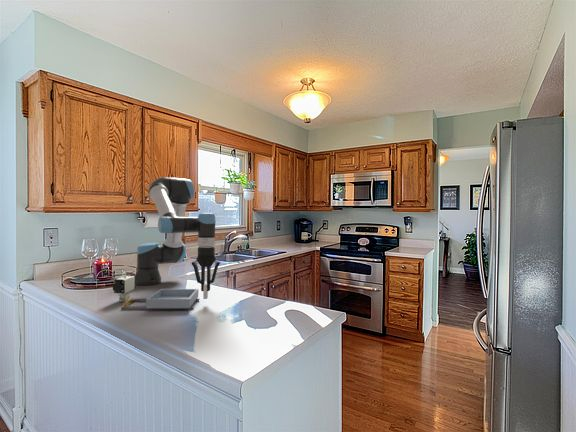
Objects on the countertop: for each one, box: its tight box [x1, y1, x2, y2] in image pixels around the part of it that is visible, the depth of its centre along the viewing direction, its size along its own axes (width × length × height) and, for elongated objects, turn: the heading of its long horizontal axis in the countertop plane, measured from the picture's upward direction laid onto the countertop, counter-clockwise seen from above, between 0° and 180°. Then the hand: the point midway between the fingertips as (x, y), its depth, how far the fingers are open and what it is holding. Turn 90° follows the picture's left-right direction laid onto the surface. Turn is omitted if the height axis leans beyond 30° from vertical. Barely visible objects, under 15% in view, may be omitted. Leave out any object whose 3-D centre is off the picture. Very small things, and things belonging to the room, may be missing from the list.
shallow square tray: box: [145, 288, 199, 308], centre depth 141 cm, size 18×18×4 cm
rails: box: [120, 297, 200, 311], centre depth 140 cm, size 14×31×2 cm, turn 95°
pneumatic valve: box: [112, 274, 137, 303], centre depth 146 cm, size 6×12×12 cm, turn 174°
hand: (205, 298), depth 142 cm, fingers closed
